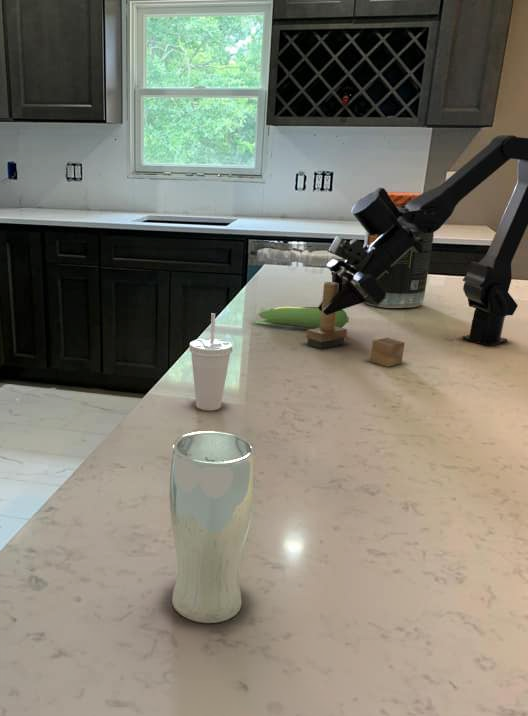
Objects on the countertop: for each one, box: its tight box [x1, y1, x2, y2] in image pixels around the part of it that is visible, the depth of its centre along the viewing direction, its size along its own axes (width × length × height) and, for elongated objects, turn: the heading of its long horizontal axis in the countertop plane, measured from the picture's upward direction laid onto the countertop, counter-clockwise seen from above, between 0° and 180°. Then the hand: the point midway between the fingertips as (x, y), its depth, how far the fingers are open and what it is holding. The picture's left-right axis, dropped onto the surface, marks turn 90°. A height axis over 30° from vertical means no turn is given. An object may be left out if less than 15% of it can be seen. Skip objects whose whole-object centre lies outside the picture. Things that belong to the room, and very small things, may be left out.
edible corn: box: [253, 306, 350, 330], centre depth 156 cm, size 5×20×5 cm, turn 74°
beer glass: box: [168, 430, 256, 624], centre depth 61 cm, size 7×7×15 cm
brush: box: [306, 281, 348, 349], centre depth 142 cm, size 7×4×12 cm, turn 126°
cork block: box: [369, 337, 406, 368], centre depth 133 cm, size 4×4×4 cm
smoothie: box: [188, 312, 234, 411], centre depth 108 cm, size 6×6×14 cm
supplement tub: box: [363, 191, 435, 309], centre depth 176 cm, size 16×16×26 cm
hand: (321, 311), depth 142 cm, fingers closed on brush, 3 cm apart
